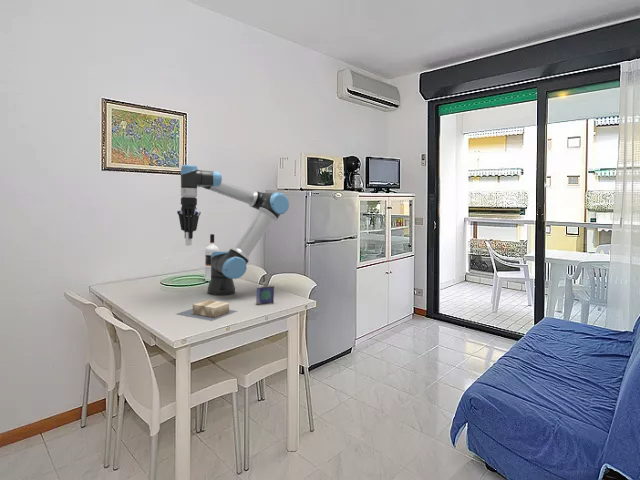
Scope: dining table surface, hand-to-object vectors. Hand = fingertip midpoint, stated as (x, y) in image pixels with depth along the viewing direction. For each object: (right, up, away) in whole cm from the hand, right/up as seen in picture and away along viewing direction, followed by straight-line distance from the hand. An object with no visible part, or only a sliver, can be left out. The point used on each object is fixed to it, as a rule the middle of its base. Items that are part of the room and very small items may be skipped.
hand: (188, 245), depth 194 cm
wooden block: (+11, -27, -16) cm, 34 cm away
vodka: (-4, -24, +56) cm, 61 cm away
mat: (+14, -30, -17) cm, 38 cm away
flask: (+37, -30, +4) cm, 48 cm away
